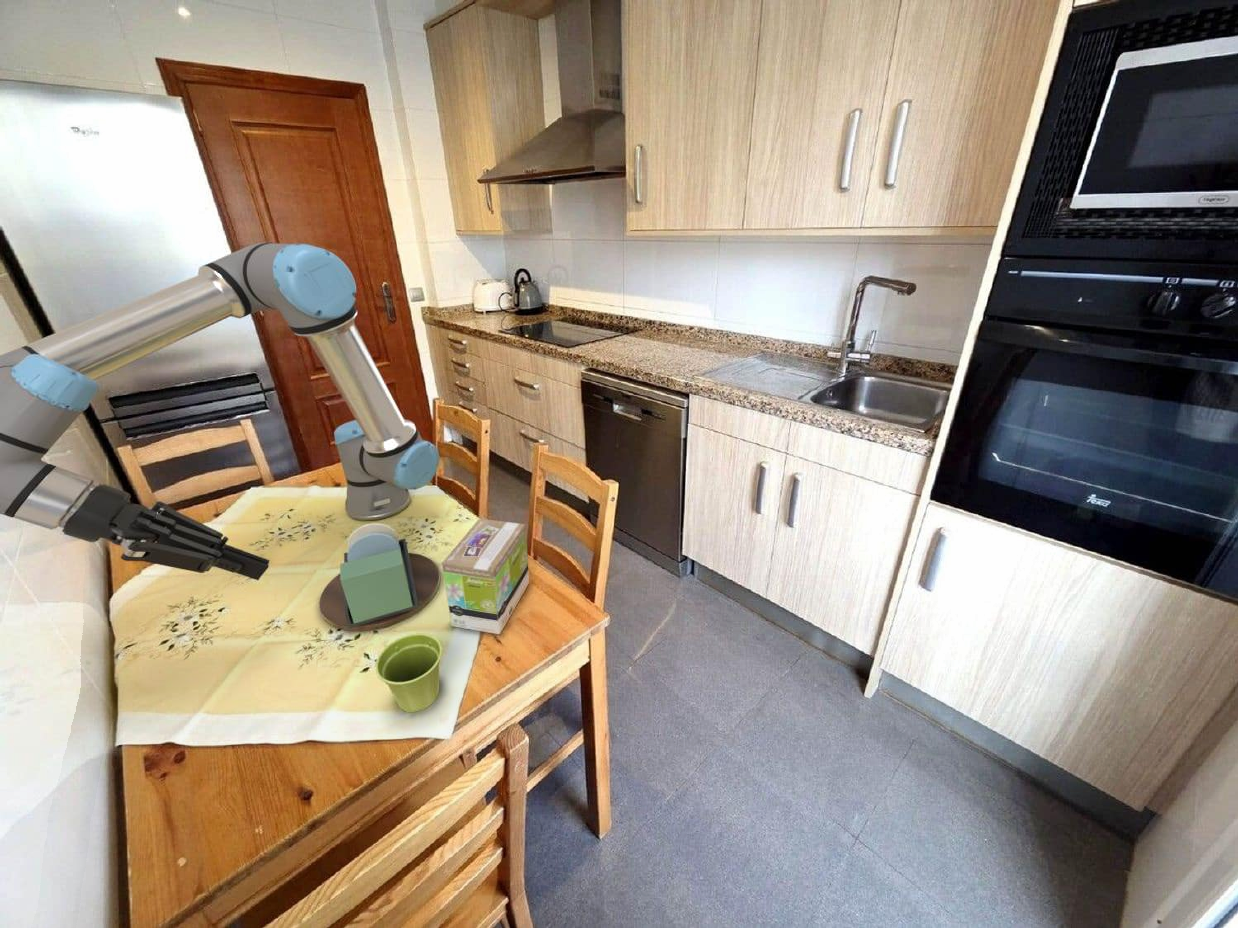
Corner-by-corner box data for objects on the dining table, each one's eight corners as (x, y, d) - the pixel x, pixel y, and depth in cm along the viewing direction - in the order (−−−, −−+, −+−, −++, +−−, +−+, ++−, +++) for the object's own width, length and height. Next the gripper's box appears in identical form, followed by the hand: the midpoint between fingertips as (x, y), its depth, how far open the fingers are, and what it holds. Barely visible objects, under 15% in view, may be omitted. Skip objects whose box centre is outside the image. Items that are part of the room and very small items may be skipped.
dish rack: (347, 565, 106) (334, 522, 101) (408, 550, 111) (398, 508, 106) (348, 628, 90) (333, 581, 85) (419, 608, 95) (408, 562, 90)
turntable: (378, 548, 113) (377, 544, 113) (461, 568, 107) (460, 564, 107) (293, 614, 95) (291, 610, 94) (388, 644, 88) (387, 639, 88)
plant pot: (462, 683, 81) (455, 644, 77) (420, 732, 74) (409, 692, 70) (418, 664, 85) (409, 625, 81) (373, 709, 77) (360, 669, 73)
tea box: (502, 636, 90) (493, 571, 84) (450, 627, 92) (438, 563, 85) (531, 582, 103) (525, 521, 97) (486, 575, 105) (477, 516, 98)
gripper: (82, 503, 73) (255, 563, 87) (37, 555, 62) (243, 614, 76) (113, 464, 73) (281, 530, 87) (73, 509, 62) (273, 577, 76)
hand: (263, 570), depth 82 cm, fingers closed
